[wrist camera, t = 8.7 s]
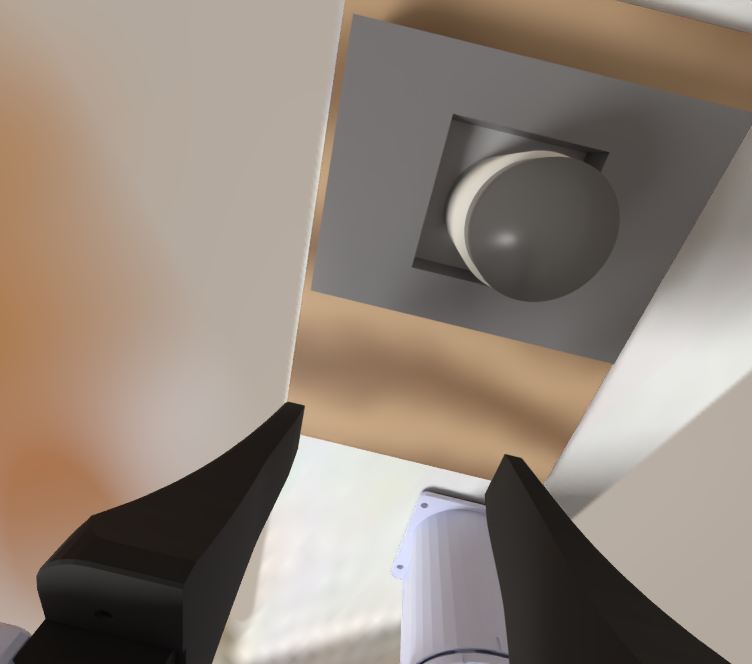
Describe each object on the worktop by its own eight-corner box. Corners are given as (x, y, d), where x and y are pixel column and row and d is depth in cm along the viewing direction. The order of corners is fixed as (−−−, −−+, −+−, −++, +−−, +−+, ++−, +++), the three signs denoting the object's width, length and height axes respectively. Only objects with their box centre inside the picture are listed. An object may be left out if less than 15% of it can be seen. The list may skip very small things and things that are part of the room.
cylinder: (569, 205, 16) (662, 227, 10) (491, 279, 18) (533, 335, 12) (498, 131, 15) (556, 107, 9) (423, 215, 17) (432, 241, 11)
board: (534, 480, 25) (539, 492, 24) (287, 420, 25) (282, 430, 24) (772, 51, 15) (795, 44, 14) (358, -52, 15) (354, -65, 14)
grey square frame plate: (697, 121, 15) (757, 113, 13) (586, 335, 20) (613, 364, 17) (364, 39, 15) (352, 13, 13) (325, 272, 20) (310, 290, 17)
